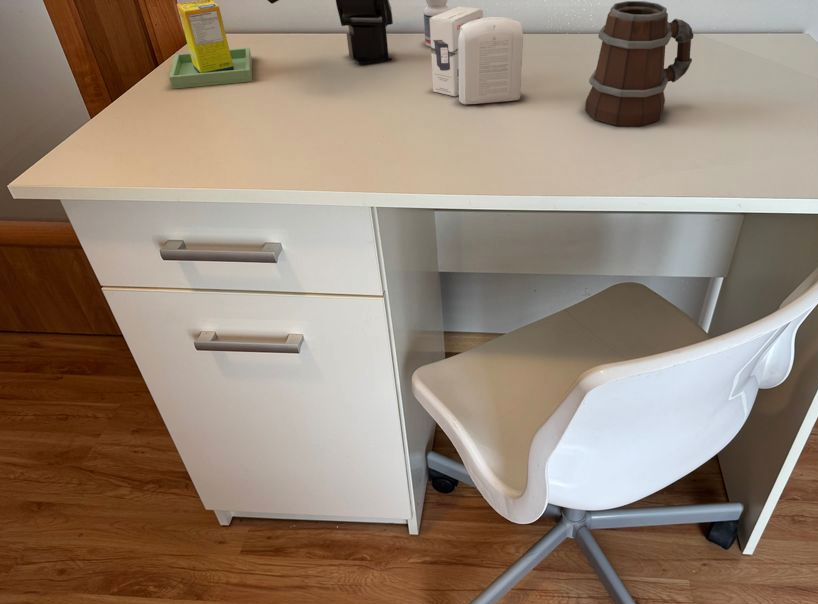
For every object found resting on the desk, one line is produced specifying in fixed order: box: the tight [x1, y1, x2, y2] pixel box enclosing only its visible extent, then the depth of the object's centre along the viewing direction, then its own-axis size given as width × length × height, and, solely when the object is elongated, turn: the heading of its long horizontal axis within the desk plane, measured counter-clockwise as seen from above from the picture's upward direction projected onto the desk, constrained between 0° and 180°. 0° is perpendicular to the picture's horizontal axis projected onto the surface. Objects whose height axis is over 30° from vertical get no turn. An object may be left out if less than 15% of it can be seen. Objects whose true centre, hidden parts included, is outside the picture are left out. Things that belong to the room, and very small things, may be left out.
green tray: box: [168, 47, 253, 90], centre depth 121 cm, size 13×13×2 cm
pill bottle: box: [423, 0, 451, 48], centre depth 130 cm, size 5×5×9 cm
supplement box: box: [176, 0, 234, 73], centre depth 118 cm, size 6×6×11 cm
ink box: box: [430, 5, 484, 97], centre depth 110 cm, size 8×5×12 cm, turn 146°
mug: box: [584, 0, 694, 127], centre depth 100 cm, size 16×12×15 cm
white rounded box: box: [458, 16, 524, 105], centre depth 105 cm, size 10×4×12 cm, turn 103°
